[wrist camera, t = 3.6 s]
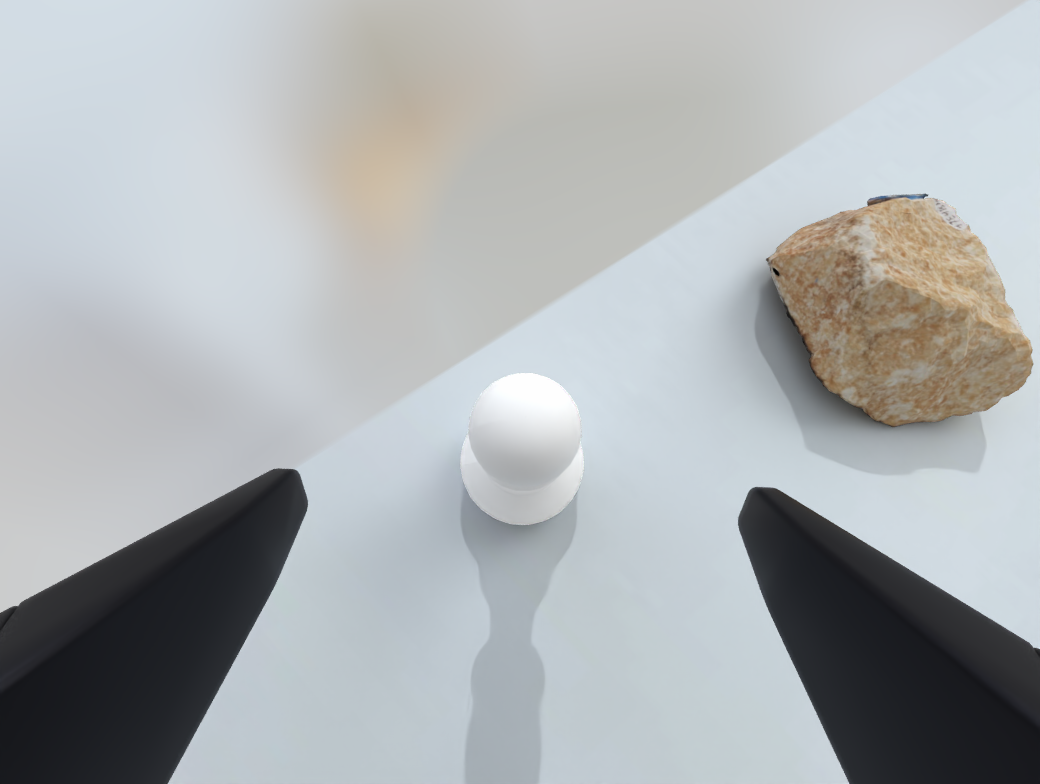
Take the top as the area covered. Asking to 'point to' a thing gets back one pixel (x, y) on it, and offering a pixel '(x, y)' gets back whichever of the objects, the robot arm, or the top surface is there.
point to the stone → (902, 311)
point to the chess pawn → (523, 450)
